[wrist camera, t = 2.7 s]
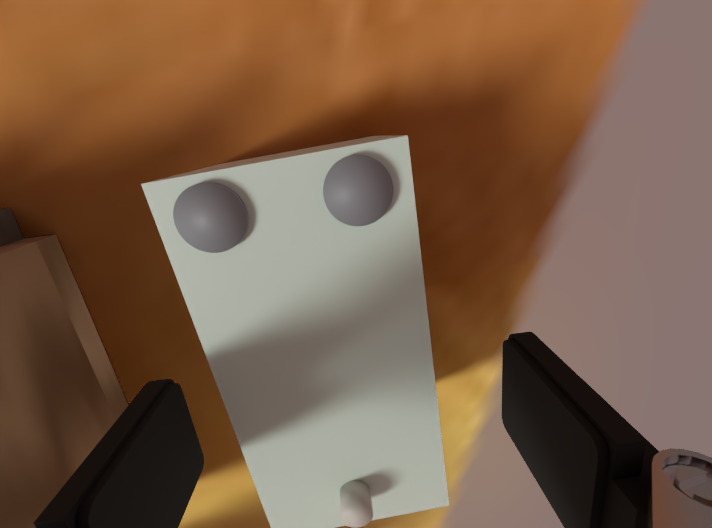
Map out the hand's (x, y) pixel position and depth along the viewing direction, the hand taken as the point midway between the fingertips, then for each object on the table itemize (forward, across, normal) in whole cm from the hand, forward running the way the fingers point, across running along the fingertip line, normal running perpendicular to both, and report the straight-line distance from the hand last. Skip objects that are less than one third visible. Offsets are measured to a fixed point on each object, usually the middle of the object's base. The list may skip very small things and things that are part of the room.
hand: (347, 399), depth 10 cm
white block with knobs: (+6, +1, -1) cm, 6 cm away
